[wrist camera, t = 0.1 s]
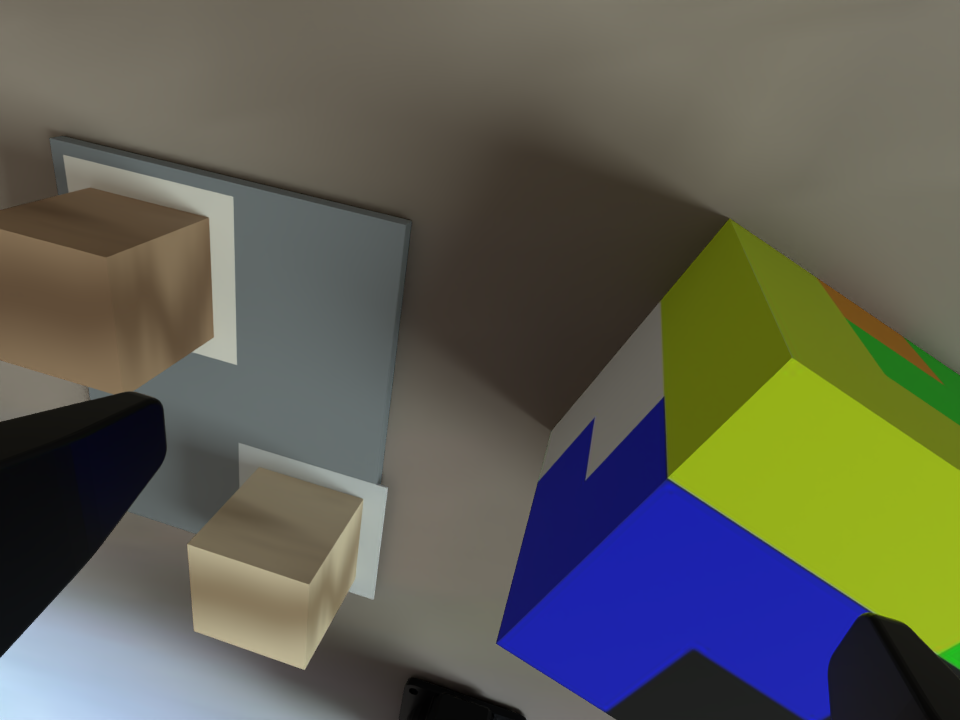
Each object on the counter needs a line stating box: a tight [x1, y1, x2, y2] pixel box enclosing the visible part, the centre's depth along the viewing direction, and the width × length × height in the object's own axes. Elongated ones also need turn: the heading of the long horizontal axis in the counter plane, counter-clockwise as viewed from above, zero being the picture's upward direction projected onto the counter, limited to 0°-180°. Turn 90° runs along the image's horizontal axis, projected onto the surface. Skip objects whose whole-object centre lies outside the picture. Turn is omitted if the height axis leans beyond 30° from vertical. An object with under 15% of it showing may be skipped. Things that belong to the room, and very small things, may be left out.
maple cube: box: [187, 467, 363, 670], centre depth 27 cm, size 5×5×5 cm
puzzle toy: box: [496, 218, 960, 720], centre depth 18 cm, size 10×10×10 cm
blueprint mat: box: [49, 136, 412, 599], centre depth 27 cm, size 18×14×1 cm
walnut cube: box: [0, 188, 214, 394], centre depth 22 cm, size 5×5×5 cm
